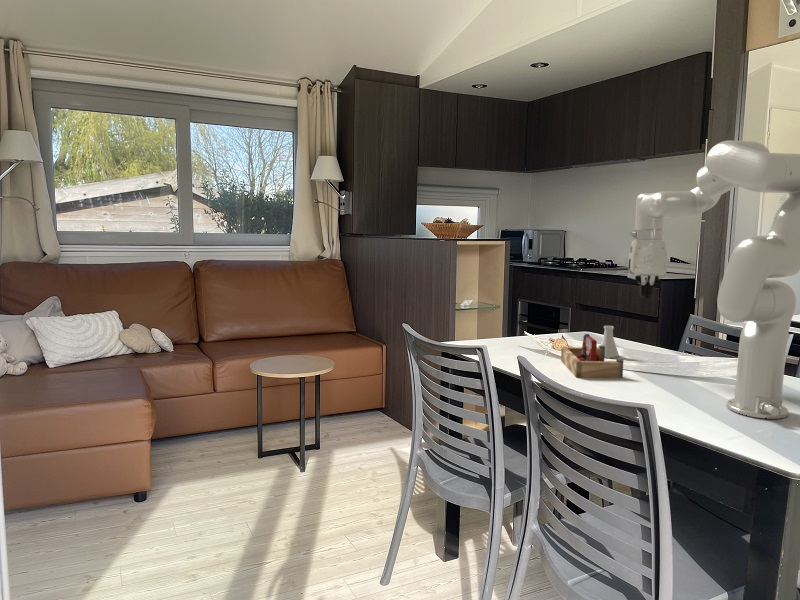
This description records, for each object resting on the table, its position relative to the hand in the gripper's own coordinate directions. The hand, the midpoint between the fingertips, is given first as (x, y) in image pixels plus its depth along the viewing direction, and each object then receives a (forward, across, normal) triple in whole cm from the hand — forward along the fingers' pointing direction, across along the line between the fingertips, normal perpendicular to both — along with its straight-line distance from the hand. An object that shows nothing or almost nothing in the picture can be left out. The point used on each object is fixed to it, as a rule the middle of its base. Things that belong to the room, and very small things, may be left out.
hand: (645, 297), depth 173 cm
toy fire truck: (+22, -15, +2) cm, 27 cm away
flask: (+22, -4, +18) cm, 29 cm away
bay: (+22, -15, +1) cm, 27 cm away
